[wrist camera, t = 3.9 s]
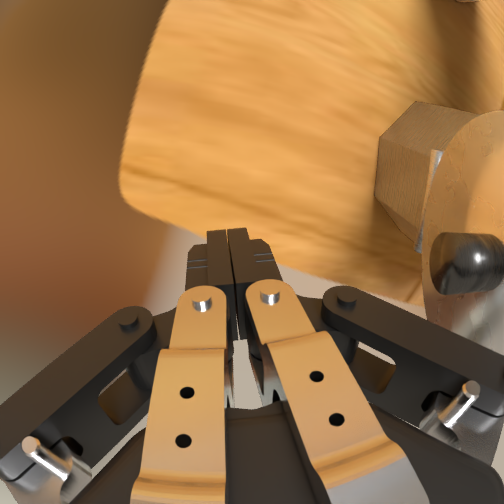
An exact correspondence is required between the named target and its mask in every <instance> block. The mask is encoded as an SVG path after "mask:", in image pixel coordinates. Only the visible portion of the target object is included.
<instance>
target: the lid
mask: <svg viewBox="0 0 504 504" xmlns="http://www.w3.org/2000/svg"><path fill="white" fill-rule="evenodd" d="M414 250H415V251H416V252H418V253H422V285H423V295H424V304H425V310H426V316H427V320H428V321H430V322H432V323H434V324H436V325H439V326H441V327H443V328H445V329H447V330H450V331H452V332H454V333H456V334H458V335H460V336H463V337H465V338H467V339H469V340H471V341H473V342H476V343H478V344H480V345H482V346H484V347H486V348H489V349H491V350H493V351H495V352H497V353H499V354H501V355H504V110H501V111H491V112H488V113H484V114H481V115H480V116H478V117H476V118H474V119H472V120H471V121H469V122H468V123H467V124H466V125H464V126H463V127H462V128H461V129H460V130H459V131H458V132H457V133H456V134H455V136H454V137H453V139H452V140H451V141H450V143H449V144H448V146H447V148H446V150H445V151H442V150H439V149H434V148H431V157H430V164H429V172H428V178H427V185H426V191H425V197H424V202H423V207H422V213H421V218H420V222H419V227H418V231H417V236H416V240H415V244H414Z"/></svg>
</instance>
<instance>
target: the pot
mask: <svg viewBox="0 0 504 504" xmlns="http://www.w3.org/2000/svg"><path fill="white" fill-rule="evenodd" d="M478 116H480V115H478V114H475V113H471V112H467V111H462V110H458V109H454V108H449V107H444V106H439V105H434V104H429V103H423V102H417V101H415V102H414V103H413V104H412V105H411V106H410V107H409V108H408V109H407V110H406V111H405V112H404V113H403V114H402V116H401V117H400V118H399V119H398V120H397V121H396V122H395V123H394V124H393V125H392V126H391V127H390V128H389V129H388V130H387V131H386V132H385V133H384V134H383V135H382V136H381V137H380V139H379V153H378V164H377V174H376V183H375V192H374V196H375V197H376V199H377V200H378V201H379V202H380V204H381V205H382V206H383V208H384V209H385V210H386V212H387V213H388V214H389V216H390V217H391V218H392V220H393V221H394V223H395V224H396V225H397V227H398V228H399V230H400V231H401V232H403V233H404V234H405V235H406V236H407V237H408V238H409V239H411V240H412V241H413V242H414V243H415V240H416V236H417V231H418V227H419V222H420V218H421V213H422V207H423V202H424V197H425V191H426V185H427V178H428V172H429V164H430V157H431V148H434V149H439V150H442V151H445V150H446V148H447V146H448V144H449V143H450V141H451V140H452V139H453V137H454V136H455V134H456V133H457V132H458V131H459V130H460V129H461V128H462V127H463V126H464V125H466V124H467V123H468V122H469V121H471V120H472V119H474V118H476V117H478Z"/></svg>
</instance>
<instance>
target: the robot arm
mask: <svg viewBox="0 0 504 504" xmlns="http://www.w3.org/2000/svg"><path fill="white" fill-rule="evenodd" d="M456 1H459V2H472V1H473V2H477V1H483V0H456ZM227 236H228V242H227ZM187 261H188V262H187V272H186V285H185V292H184V293H183V294H182V295H181V296H180V298H179V299H178V304H177V307H176V308H174V309H173V310H170V311H168V312H165V313H162V314H159V315H156V316H153V317H152V314H151V313H150V311H149V310H147V309H145V308H143V307H139V306H131V307H126V308H123V309H120V310H118V311H117V312H115V313H114V314H113V315H111V316H110V317H109V318H107V319H106V320H105V321H103V322H102V323H101V324H100V325H98V326H97V327H96V328H94V329H93V330H92V331H91V332H89V333H88V334H87V335H86V336H84V337H83V338H82V339H80V340H79V341H78V342H77V343H75V344H74V345H73V346H72V347H70V348H69V349H68V350H66V351H65V352H64V353H63V354H62V355H60V356H59V357H58V358H57V359H55V360H54V361H53V362H52V363H50V364H49V365H48V366H47V367H45V368H44V369H43V370H42V371H41V372H39V373H38V374H37V375H36V376H35V377H33V378H32V379H31V380H30V381H28V382H27V383H26V384H25V385H24V386H23V387H22V388H20V389H19V390H18V391H17V392H16V393H14V394H13V395H12V396H11V397H10V398H8V399H7V400H6V401H5V402H4V403H3V404H2V405H0V479H1V480H2V481H3V482H4V483H5V484H6V486H7V487H8V489H9V490H10V492H11V494H12V495H13V497H14V498H15V500H16V501H17V503H18V504H504V485H503V482H502V479H501V477H500V476H499V474H498V473H497V472H496V470H495V469H494V468H493V467H491V464H492V461H493V458H494V455H495V452H496V449H497V445H498V442H499V438H500V434H501V431H502V427H503V423H504V355H501V354H499V353H497V352H495V351H493V350H491V349H489V348H486V347H484V346H482V345H480V344H478V343H476V342H473V341H471V340H469V339H467V338H465V337H463V336H460V335H458V334H456V333H454V332H452V331H450V330H447V329H445V328H443V327H441V326H439V325H436V324H434V323H432V322H430V321H428V320H425V319H423V318H421V317H419V316H417V315H414V314H412V313H410V312H408V311H406V310H403V309H401V308H399V307H397V306H394V305H392V304H390V303H388V302H386V301H384V300H381V299H379V298H377V297H375V296H372V295H370V294H368V293H366V292H363V291H361V290H359V289H357V288H354V287H350V286H336V287H332V288H330V289H328V290H327V291H326V292H325V293H324V295H323V299H317V298H307V297H302V296H299V295H296V294H295V292H294V291H293V289H292V287H291V286H290V285H288V284H287V283H285V282H283V280H282V277H281V275H280V272H279V269H278V267H277V264H276V262H275V260H274V257H273V254H272V252H271V249H270V246H269V245H268V244H267V243H266V242H264V241H263V240H262V239H254V240H250V239H249V236H248V232H247V229H246V228H236V229H227V235H226V229H225V230H214V231H207V244H201V245H194V246H193V247H192V248H191V250H190V251H189V252H188V260H187ZM236 316H237V320H236ZM237 322H238V329H239V335H240V340H243V339H247V342H248V348H249V359H250V363H251V367H252V370H253V374H254V377H255V381H256V384H257V387H258V391H259V394H260V398H261V401H262V405H263V407H261V408H258V409H254V410H248V409H239V408H235V406H234V380H233V357H232V356H233V353H234V347H233V341H234V340H238V332H237ZM359 341H360V342H362V343H364V344H366V345H367V346H369V347H371V348H373V349H375V350H378V351H379V352H381V353H383V354H385V355H388V356H389V357H391V358H392V359H393V360H394V362H395V364H396V365H393V364H390V363H388V362H386V361H384V360H382V359H380V358H378V357H376V356H374V355H372V354H370V353H369V352H367V351H365V350H363V349H361V348H359V347H358V344H359ZM124 369H126V372H125V373H124V374H123V375H122V376H121V377H119V378H118V379H117V380H116V381H115V382H114V383H113V384H112V385H111V386H110V387H109V388H107V389H106V390H105V391H104V392H103V393H102V394H101V395H100V396H99V394H100V392H101V390H102V389H103V388H104V387H106V386H107V385H108V384H109V383H110V382H111V381H112V380H113V379H114V378H115V377H117V376H118V375H119V374H120V373H121V372H122V371H123V370H124ZM98 396H99V397H98ZM369 402H370V403H369ZM147 413H148V418H147V425H146V428H144V429H142V430H141V431H139V432H138V433H137V434H136V435H134V436H133V437H132V438H131V439H130V440H129V441H128V442H127V443H126V444H125V446H123V447H122V449H121V450H120V451H119V452H118V453H117V454H116V455H115V456H114V457H113V458H112V459H111V460H110V461H109V462H108V464H106V466H105V467H104V468H103V469H102V470H101V471H100V472H99V473H98V474H97V475H96V476H95V477H94V478H93V479H92V472H91V469H92V468H93V467H94V466H95V465H96V464H97V463H98V462H99V461H100V460H101V459H102V458H103V457H104V456H105V455H106V454H107V453H108V452H109V451H110V450H111V449H112V448H113V447H114V446H115V445H116V444H118V442H120V440H122V439H123V438H124V437H125V435H127V434H128V433H129V432H130V431H131V430H132V429H133V428H134V427H135V425H137V424H138V422H139V421H140V420H141V419H142V418H143V417H144V416H145V415H146V414H147ZM392 414H393V415H392ZM394 415H395V416H394ZM396 416H397V417H396ZM399 418H400V419H399ZM401 419H402V420H401ZM403 420H404V421H403ZM405 421H407V422H408V423H410V424H412V425H414V426H416V427H418V428H420V430H419V429H418V428H416V427H414V426H412V425H410V424H408V423H406V422H405Z"/></svg>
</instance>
